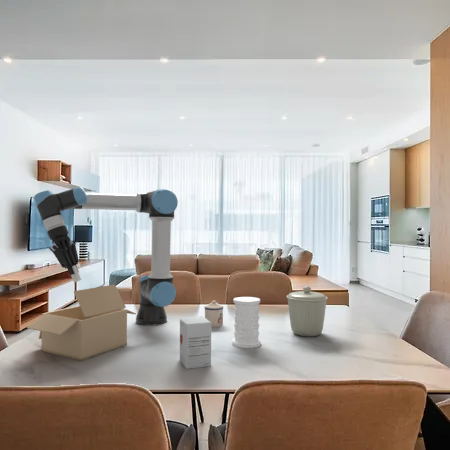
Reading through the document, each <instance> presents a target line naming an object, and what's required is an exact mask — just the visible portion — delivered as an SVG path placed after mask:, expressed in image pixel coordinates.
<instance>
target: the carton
mask: <svg viewBox="0 0 450 450" xmlns="http://www.w3.org/2000/svg"><path fill="white" fill-rule="evenodd" d="M128 314H130V315H136V316H137V313H136V312H134V311H131V310H129V309H126V308H123V309H119V310H115V311H111V312H107V313H103V314H99V315H94V316H90V317H86V318H85V317H84V314H83V312H82V310H81V307H80V305H76V306H70V307H65V308H61V309H56V310H52V311H48V312H47V311H46V312H44V313H41V316H40V317H38V318H37V319H36V320H34V321H33V322H31V323H30V324H29V325H28V326H26V328H27V329H30V330H34V331H38V332H39V335H38V340H41V346H40V347H41V350H40V351H41V352H44V353H48V354H51V355H57V356H60V357H64V358H67V359H71V360H76V361H79V362H83V361H86V360H88V359H91V358H95V357H97V356H99V355H103V354H106V353H108V352H111V351H113V350H116V349H118V348H122V347H124V346H127V344H128V341H127V340H128Z"/></svg>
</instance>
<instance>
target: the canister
mask: <svg viewBox="0 0 450 450" xmlns="http://www.w3.org/2000/svg"><path fill="white" fill-rule="evenodd" d="M286 298H287V303H288V304H287V305H288V314H289V322H290V323H289V324H290V328H291V331H292V333H294V334H295V335H297V336H300V337H318V336H320V335H321V334H322V332H323V329H324V323H325V318H326V317H325V316H326V307H327V300H328V299H329V297H328V296H326V295H325V293H324V294H323V293H321V292H317V291H312V288H311V287H310V286H309V285H307V286H306V285H305V286H303V288H302V290H299V291H292V292H290V293H288V294H287V295H286Z"/></svg>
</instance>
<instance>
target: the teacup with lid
mask: <svg viewBox="0 0 450 450" xmlns="http://www.w3.org/2000/svg"><path fill="white" fill-rule="evenodd" d="M223 312H224V305H222V304H219V303H218V302H217V300H212V301H211V302H210V303H208V304H206V305H205V306H204V318H206V319H207V320H208V321H210V322H211V328H220V327H222V326H223V324H224V323H223V317H224V313H223Z"/></svg>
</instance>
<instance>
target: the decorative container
mask: <svg viewBox="0 0 450 450" xmlns="http://www.w3.org/2000/svg"><path fill="white" fill-rule="evenodd" d="M232 302H233V304H234V309H233V310H234V316H233V318H234V324H233V326H234V331H233V335H234V338H232V340H231V341H232V344H231V345H232V346H234V347H236V348H240V349H241V348H242V349H254V347H255V348H259V347H260V346H261V345H262V341H261V339H260V338H259V336H260V331H259V328H260V323H259V320H260V315H259V312H260V307H259V305H260V303H261V298H259V297H254V296H240V297H239V296H238V297H234V298H233V301H232Z"/></svg>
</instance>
